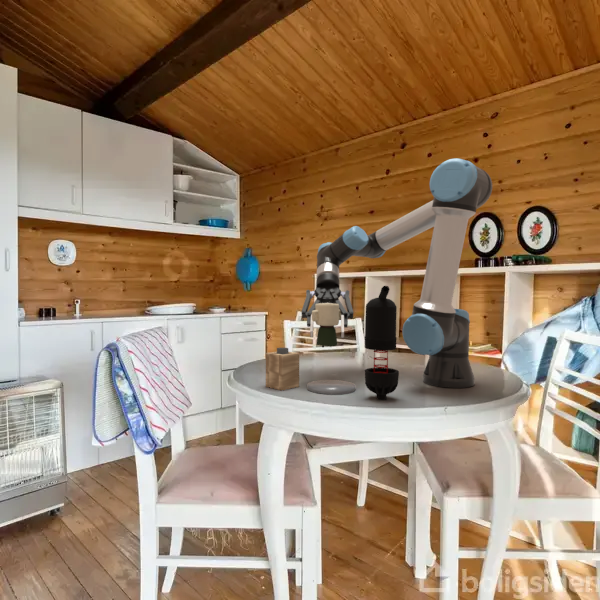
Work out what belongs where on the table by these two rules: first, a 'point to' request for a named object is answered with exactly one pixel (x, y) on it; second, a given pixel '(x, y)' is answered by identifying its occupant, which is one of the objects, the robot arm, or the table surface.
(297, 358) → the block
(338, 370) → the table surface
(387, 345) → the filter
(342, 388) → the coaster
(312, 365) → the table surface
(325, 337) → the character mug
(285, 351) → the dark grey tall cylinder
